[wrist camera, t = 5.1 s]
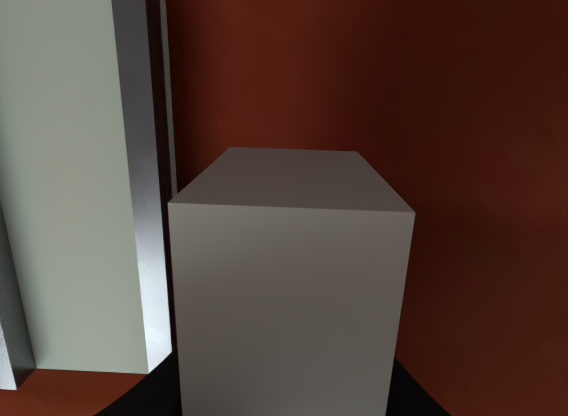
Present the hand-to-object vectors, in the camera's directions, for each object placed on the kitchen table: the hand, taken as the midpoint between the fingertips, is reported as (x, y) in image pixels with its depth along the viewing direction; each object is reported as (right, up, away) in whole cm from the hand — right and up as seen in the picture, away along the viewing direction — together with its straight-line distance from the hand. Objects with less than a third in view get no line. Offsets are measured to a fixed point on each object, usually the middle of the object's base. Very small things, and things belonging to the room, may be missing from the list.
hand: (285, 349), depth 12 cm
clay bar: (0, +1, +2) cm, 2 cm away
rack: (-14, +5, +6) cm, 16 cm away
